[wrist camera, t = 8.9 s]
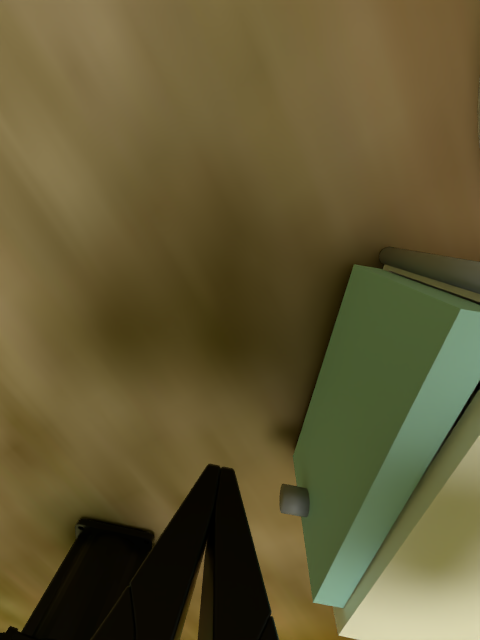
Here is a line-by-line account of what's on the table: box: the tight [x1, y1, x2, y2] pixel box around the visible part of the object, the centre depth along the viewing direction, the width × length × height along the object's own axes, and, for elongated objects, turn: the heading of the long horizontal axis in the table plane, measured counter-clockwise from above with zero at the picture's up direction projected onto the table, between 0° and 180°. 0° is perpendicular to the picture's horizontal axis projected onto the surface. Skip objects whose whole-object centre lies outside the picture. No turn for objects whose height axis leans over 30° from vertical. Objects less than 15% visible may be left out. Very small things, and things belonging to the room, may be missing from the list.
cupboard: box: [333, 247, 480, 640], centre depth 11 cm, size 9×14×8 cm, turn 170°
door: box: [280, 264, 480, 608], centre depth 11 cm, size 12×2×7 cm, turn 171°
